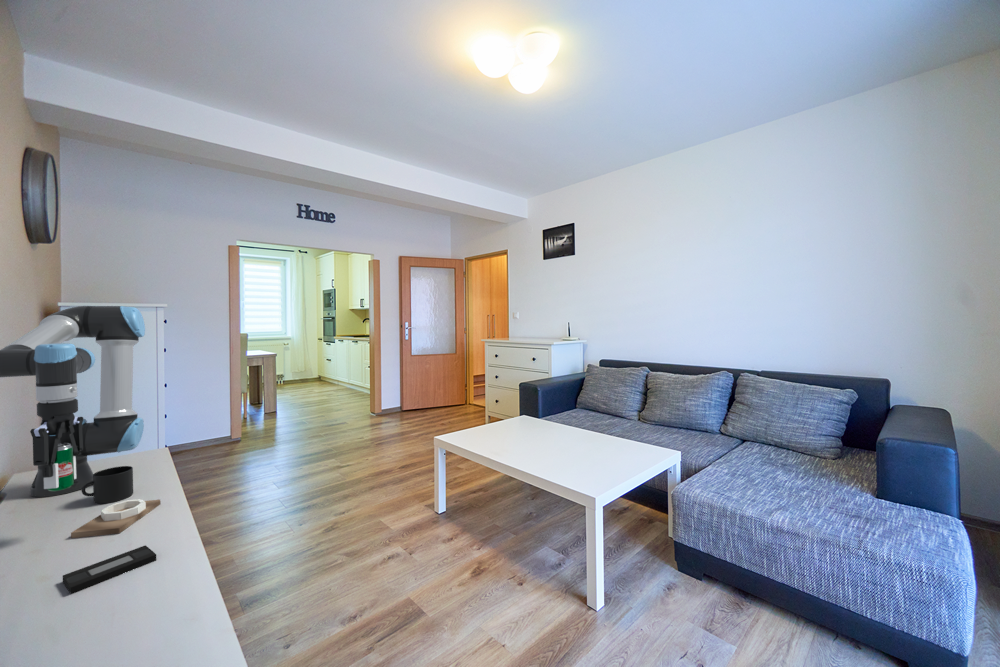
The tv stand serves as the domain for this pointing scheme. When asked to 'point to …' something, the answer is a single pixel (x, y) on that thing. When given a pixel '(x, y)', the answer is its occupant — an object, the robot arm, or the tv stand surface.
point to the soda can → (64, 466)
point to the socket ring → (110, 512)
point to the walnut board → (112, 523)
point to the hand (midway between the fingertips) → (60, 483)
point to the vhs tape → (108, 569)
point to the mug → (111, 485)
